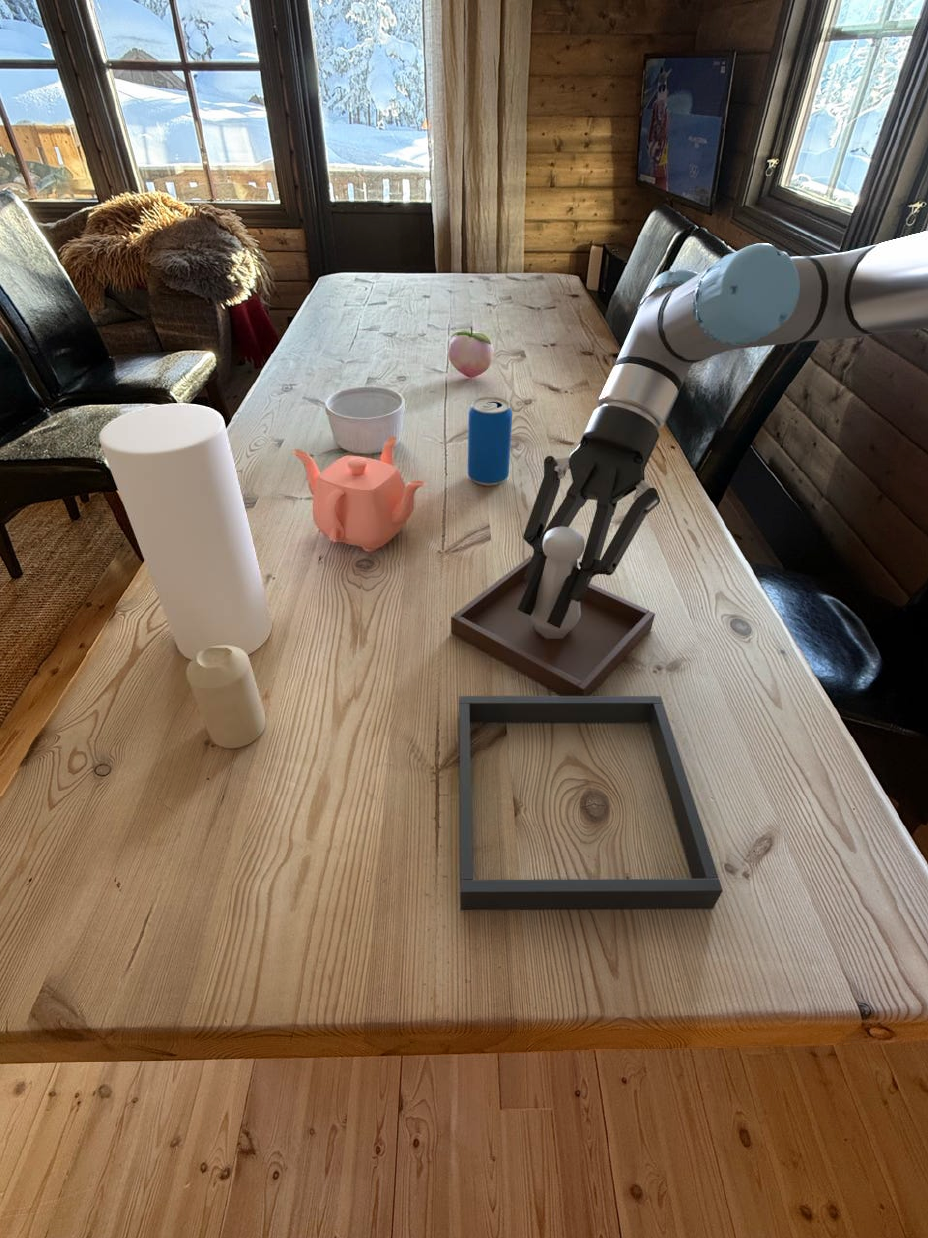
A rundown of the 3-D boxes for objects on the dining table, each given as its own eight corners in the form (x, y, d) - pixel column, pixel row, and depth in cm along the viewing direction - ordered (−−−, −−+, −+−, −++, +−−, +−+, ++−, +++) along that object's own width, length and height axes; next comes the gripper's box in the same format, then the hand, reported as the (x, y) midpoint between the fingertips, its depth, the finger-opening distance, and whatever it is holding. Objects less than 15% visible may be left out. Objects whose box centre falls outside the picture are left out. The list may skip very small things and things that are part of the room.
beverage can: (516, 477, 104) (521, 404, 96) (489, 492, 101) (492, 417, 93) (486, 463, 107) (489, 391, 100) (459, 477, 104) (459, 404, 96)
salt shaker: (537, 606, 79) (548, 513, 71) (583, 619, 77) (599, 526, 69) (520, 635, 75) (528, 541, 67) (568, 650, 73) (583, 555, 65)
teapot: (303, 515, 95) (291, 444, 88) (399, 499, 99) (395, 430, 92) (322, 572, 85) (311, 497, 78) (428, 551, 89) (426, 478, 81)
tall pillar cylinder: (290, 632, 76) (245, 427, 60) (204, 678, 70) (129, 466, 54) (242, 590, 82) (189, 393, 65) (159, 630, 76) (79, 425, 60)
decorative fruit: (499, 374, 137) (502, 323, 131) (484, 387, 132) (486, 336, 125) (458, 367, 140) (459, 317, 134) (442, 380, 135) (441, 329, 128)
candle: (267, 703, 68) (248, 631, 61) (265, 745, 64) (243, 672, 57) (212, 709, 67) (186, 637, 60) (205, 752, 63) (177, 680, 56)
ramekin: (413, 453, 110) (411, 413, 105) (333, 462, 107) (328, 421, 103) (399, 420, 120) (397, 382, 115) (326, 427, 117) (321, 389, 113)
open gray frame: (654, 715, 67) (661, 695, 65) (713, 909, 52) (723, 891, 50) (459, 715, 67) (459, 695, 65) (460, 910, 52) (460, 892, 50)
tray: (651, 630, 77) (655, 613, 75) (580, 707, 68) (584, 689, 66) (528, 571, 85) (529, 555, 84) (450, 633, 76) (450, 616, 75)
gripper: (702, 453, 71) (612, 652, 71) (570, 416, 77) (488, 598, 78) (698, 423, 64) (598, 643, 64) (553, 385, 71) (464, 585, 71)
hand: (538, 618), depth 71 cm, fingers closed on salt shaker, 3 cm apart
